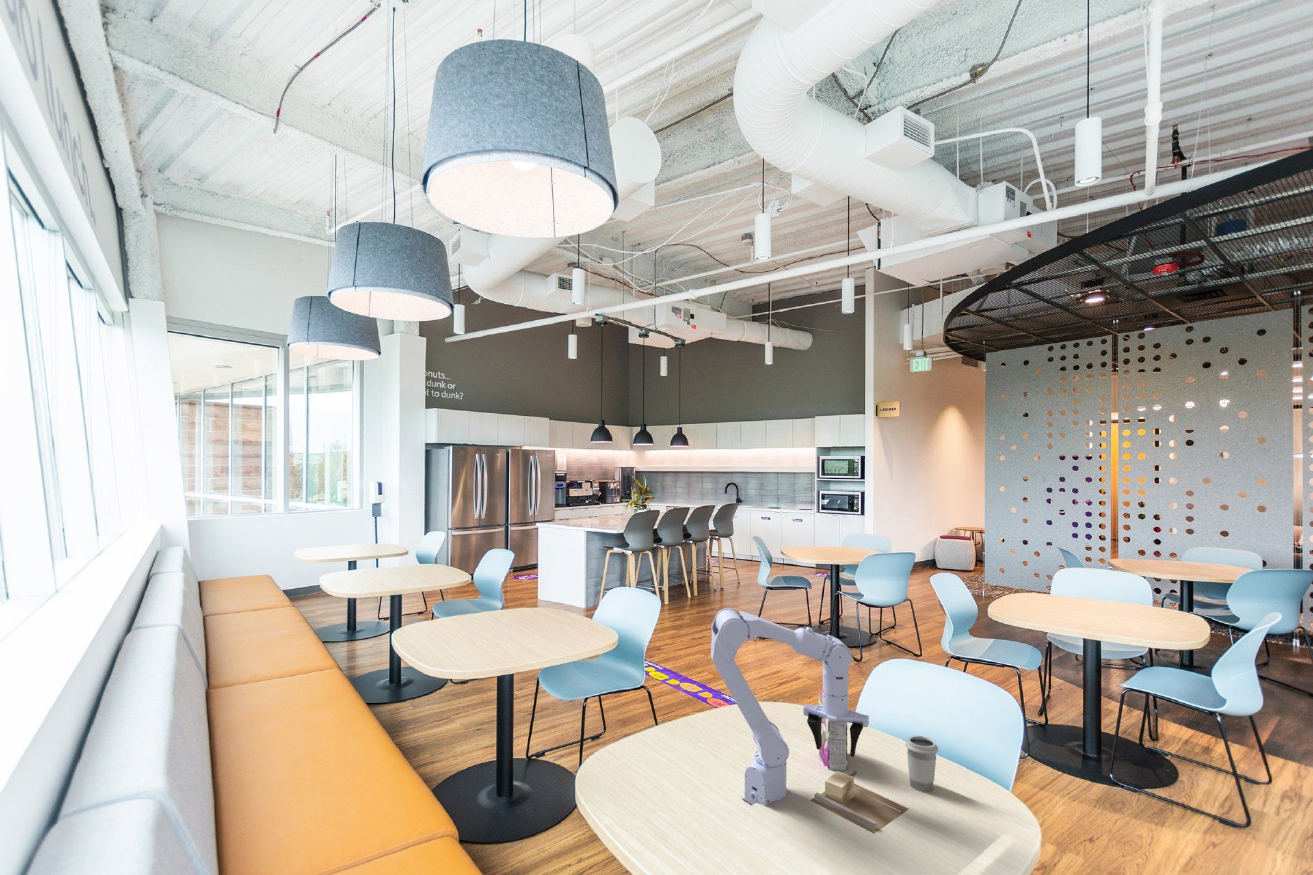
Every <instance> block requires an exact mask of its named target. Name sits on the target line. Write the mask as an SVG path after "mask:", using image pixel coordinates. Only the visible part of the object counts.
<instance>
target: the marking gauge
mask: <svg viewBox="0 0 1313 875" xmlns="http://www.w3.org/2000/svg"><path fill="white" fill-rule="evenodd" d="M857 773H858V772H857V771H856V770H855V769H852V770H850V771H849V772H848V773H844V772H842V771H840V770H836V771H835V772H834V773H833V774H832V775H831V776H830V777H828V778H827V779H826V780H825V781H824V792H825V797H827V798H829V799H831V800H833V801H835V802H837V803H839V804H841V805H843V806H845V805H846V804H847V803H848V802H849V801H850V800H851V799H852V798H853V797H854V783H855V776H856V775H857Z"/></svg>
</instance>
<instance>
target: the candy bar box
mask: <svg viewBox="0 0 1313 875" xmlns="http://www.w3.org/2000/svg"><path fill="white" fill-rule="evenodd" d="M818 705H820V706H823V691H820V692H818ZM821 737H822V746H821V748H820V750H818V755H819V757H820V760H821V761H822V763H823V765H824V767H827V770H830V771H831V770H832V771H848V722H843V721H838V720H837V721H830V720H828V719H827V718H822V724H821Z"/></svg>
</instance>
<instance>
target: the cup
mask: <svg viewBox="0 0 1313 875" xmlns="http://www.w3.org/2000/svg"><path fill="white" fill-rule="evenodd" d="M905 747H906V749H907V767H908V776H909V784H910V787H911V788H912V789H914V790H915V791H918V792H922V793H929V792H931V791H933V788H934V781H935V775H936V774H935V773H936V764H937V763H936V761H937V754H936V753H938V752H939V748H938V745H937V744H936V741H935V740H933V739H931V738H930V737H926V736H923V735H912V736H909V737H908V739H907V740H906V742H905Z"/></svg>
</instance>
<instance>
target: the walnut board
mask: <svg viewBox="0 0 1313 875" xmlns="http://www.w3.org/2000/svg"><path fill="white" fill-rule="evenodd" d="M809 801H810V802H812V803H813V804H816V805H818V806H819V807H821V808H824V809H826V810H828V811H829V812H832V813H834V814H835V815H837V816H839V817H841V818H843V819H845V820H847V821H848V822H851V823H852V824H854V825H856V826H859V827H860V828H862V829H864V830H866V831H868V832H871V833H872V834H876V833H877V832H878V831H879V830H881V829H883V828H884V827H886V826H887V825H888V824H890V823H891V822H893V821H894V820H895V819H897V818H898V817H900V816H901V815H903V814H904V813H905V812H907V811H909V810H910V809H909V807H906V806H904V805H902V804H900V803H898V802H895V801H893V800H892V799H889V798H887V797H885V796H882V795H880V794H878V793H877V792H874V791H872V790H870V789H868V788H865V787H863V786H861V785H860V784H857V783H855V782H854V797H853V798H852V799H851V800H850V801H849V802H848V803H847V804H846V805H845V806H843V805H841V804H839V803H837V802H835V801H833V800H831V799H829V798H827V797H825V791H823V792H822V793H819V792H816V793H814V797H813V798H811V799H809Z"/></svg>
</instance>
